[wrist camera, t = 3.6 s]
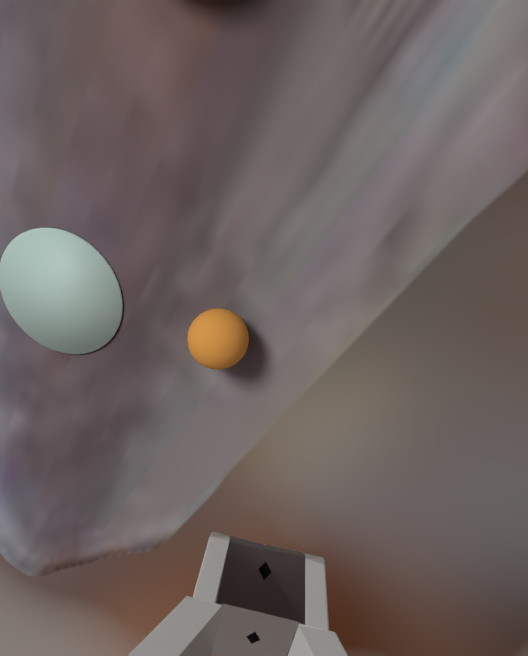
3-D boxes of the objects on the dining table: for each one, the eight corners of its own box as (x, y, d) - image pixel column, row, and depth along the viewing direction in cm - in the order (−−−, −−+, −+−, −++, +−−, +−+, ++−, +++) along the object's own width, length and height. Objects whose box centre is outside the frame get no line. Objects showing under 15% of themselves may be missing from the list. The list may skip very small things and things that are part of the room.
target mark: (124, 241, 32) (122, 241, 32) (121, 364, 37) (120, 365, 37) (-7, 216, 33) (-9, 216, 33) (7, 339, 38) (6, 340, 38)
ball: (257, 307, 33) (247, 327, 28) (248, 358, 35) (237, 386, 30) (201, 296, 33) (181, 314, 28) (195, 347, 35) (176, 373, 30)
